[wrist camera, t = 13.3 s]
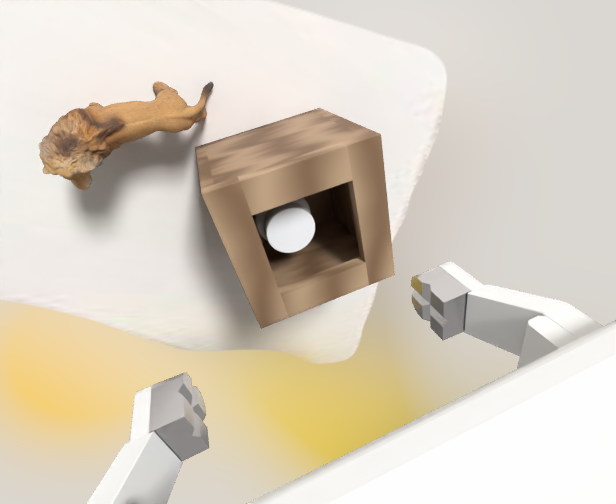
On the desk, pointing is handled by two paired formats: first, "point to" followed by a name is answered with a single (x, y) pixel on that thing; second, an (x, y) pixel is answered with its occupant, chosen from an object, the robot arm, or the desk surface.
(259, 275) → the slot box
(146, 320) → the desk surface
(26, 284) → the desk surface
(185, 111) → the lion figurine
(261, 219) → the pill bottle
